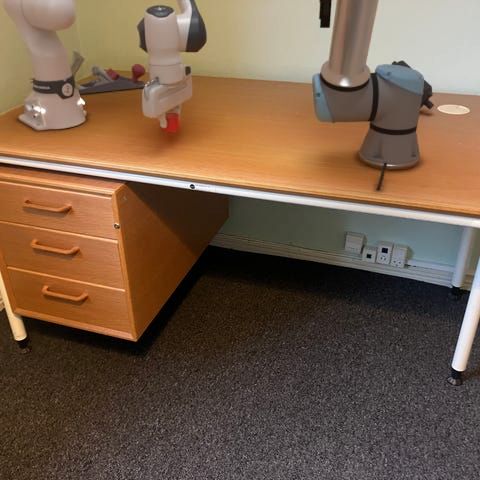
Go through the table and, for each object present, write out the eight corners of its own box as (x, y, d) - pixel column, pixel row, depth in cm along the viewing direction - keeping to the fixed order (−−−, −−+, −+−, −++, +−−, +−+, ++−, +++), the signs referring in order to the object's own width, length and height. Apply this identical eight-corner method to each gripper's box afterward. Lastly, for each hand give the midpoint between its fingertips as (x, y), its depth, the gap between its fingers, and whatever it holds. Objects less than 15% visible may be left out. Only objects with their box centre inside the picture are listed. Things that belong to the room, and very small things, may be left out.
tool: (372, 91, 179) (399, 54, 168) (415, 128, 175) (445, 93, 164) (364, 95, 175) (390, 58, 165) (407, 134, 171) (437, 98, 160)
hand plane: (62, 90, 197) (53, 48, 189) (145, 82, 205) (140, 41, 197) (62, 96, 191) (54, 53, 184) (148, 87, 199) (143, 45, 191)
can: (181, 130, 148) (180, 116, 146) (165, 133, 147) (164, 118, 144) (176, 125, 152) (175, 111, 149) (161, 128, 150) (159, 113, 148)
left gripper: (154, 84, 132) (159, 137, 139) (195, 65, 147) (198, 113, 155) (133, 82, 134) (139, 134, 141) (175, 63, 150) (179, 111, 157)
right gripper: (314, -64, 153) (310, 15, 165) (315, -59, 132) (311, 31, 144) (341, -64, 153) (335, 15, 164) (346, -59, 132) (339, 31, 143)
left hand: (170, 123), depth 148 cm, fingers closed on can, 4 cm apart
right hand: (324, 23), depth 154 cm, fingers open, 13 cm apart
